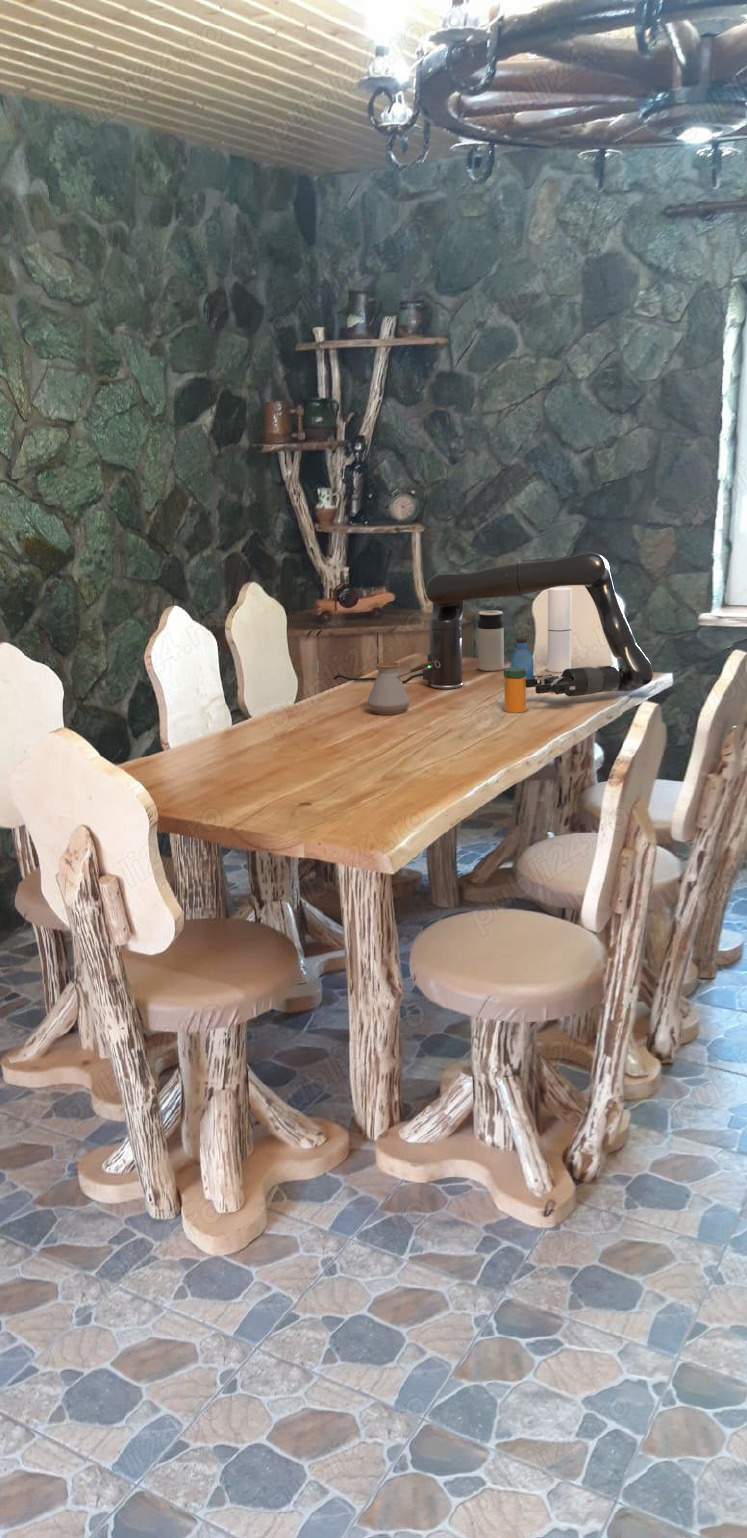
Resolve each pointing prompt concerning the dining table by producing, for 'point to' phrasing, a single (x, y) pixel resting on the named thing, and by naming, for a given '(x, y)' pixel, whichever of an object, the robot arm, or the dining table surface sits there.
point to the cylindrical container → (559, 629)
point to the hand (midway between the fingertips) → (528, 686)
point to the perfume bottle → (522, 657)
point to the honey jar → (515, 694)
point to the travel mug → (490, 641)
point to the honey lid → (515, 672)
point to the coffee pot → (391, 689)
